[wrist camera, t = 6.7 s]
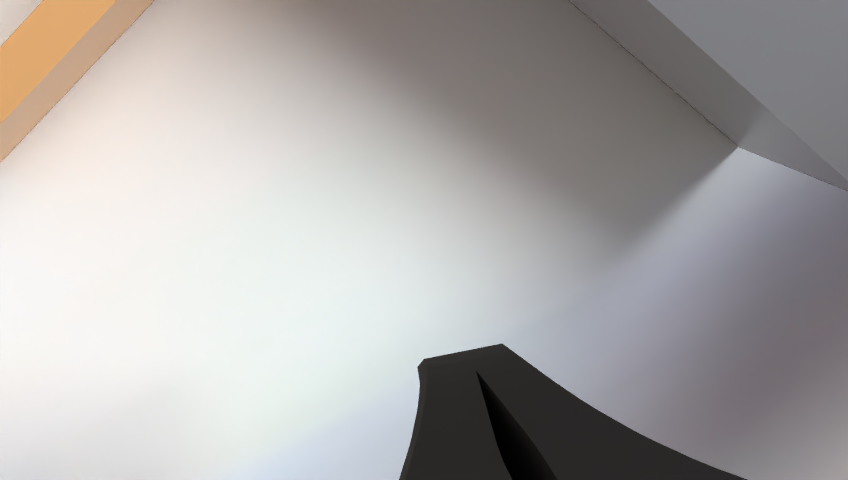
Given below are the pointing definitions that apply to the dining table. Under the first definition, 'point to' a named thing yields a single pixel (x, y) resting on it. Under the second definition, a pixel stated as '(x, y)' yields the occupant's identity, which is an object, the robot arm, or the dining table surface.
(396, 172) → the dining table surface
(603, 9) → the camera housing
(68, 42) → the door
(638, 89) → the dining table surface
